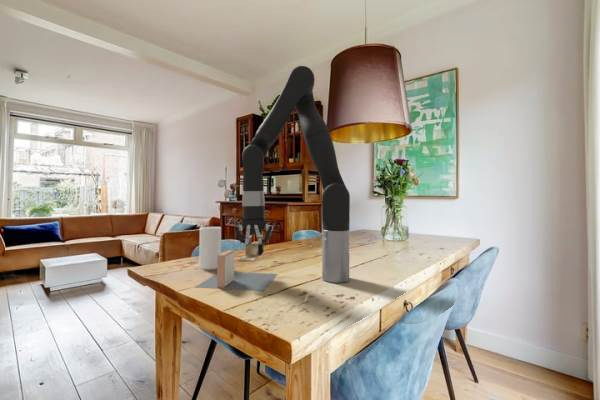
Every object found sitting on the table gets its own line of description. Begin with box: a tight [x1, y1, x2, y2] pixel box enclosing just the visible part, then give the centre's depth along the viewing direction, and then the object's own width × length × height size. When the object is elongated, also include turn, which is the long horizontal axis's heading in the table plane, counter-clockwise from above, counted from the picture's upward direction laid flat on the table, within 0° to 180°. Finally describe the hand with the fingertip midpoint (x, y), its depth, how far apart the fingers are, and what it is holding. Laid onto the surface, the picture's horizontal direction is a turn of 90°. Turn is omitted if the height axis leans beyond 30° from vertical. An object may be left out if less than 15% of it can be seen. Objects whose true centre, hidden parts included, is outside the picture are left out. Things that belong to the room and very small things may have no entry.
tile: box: [216, 250, 235, 288], centre depth 90 cm, size 2×8×10 cm, turn 172°
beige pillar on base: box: [238, 240, 260, 263], centre depth 93 cm, size 5×14×4 cm, turn 173°
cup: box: [198, 226, 222, 270], centre depth 112 cm, size 8×8×16 cm
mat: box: [194, 271, 278, 292], centre depth 94 cm, size 22×19×1 cm
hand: (254, 254), depth 96 cm, fingers closed on beige pillar on base, 3 cm apart
